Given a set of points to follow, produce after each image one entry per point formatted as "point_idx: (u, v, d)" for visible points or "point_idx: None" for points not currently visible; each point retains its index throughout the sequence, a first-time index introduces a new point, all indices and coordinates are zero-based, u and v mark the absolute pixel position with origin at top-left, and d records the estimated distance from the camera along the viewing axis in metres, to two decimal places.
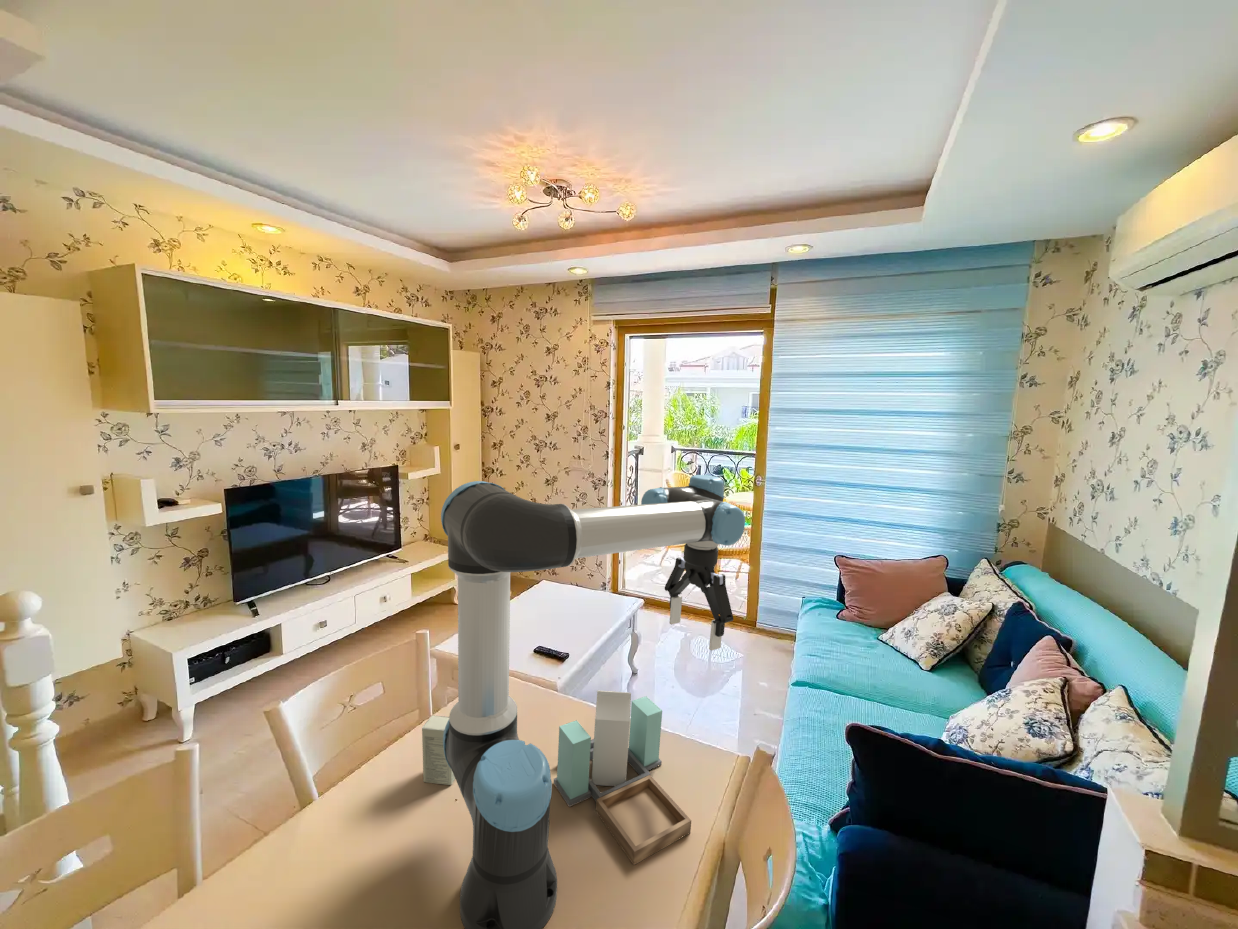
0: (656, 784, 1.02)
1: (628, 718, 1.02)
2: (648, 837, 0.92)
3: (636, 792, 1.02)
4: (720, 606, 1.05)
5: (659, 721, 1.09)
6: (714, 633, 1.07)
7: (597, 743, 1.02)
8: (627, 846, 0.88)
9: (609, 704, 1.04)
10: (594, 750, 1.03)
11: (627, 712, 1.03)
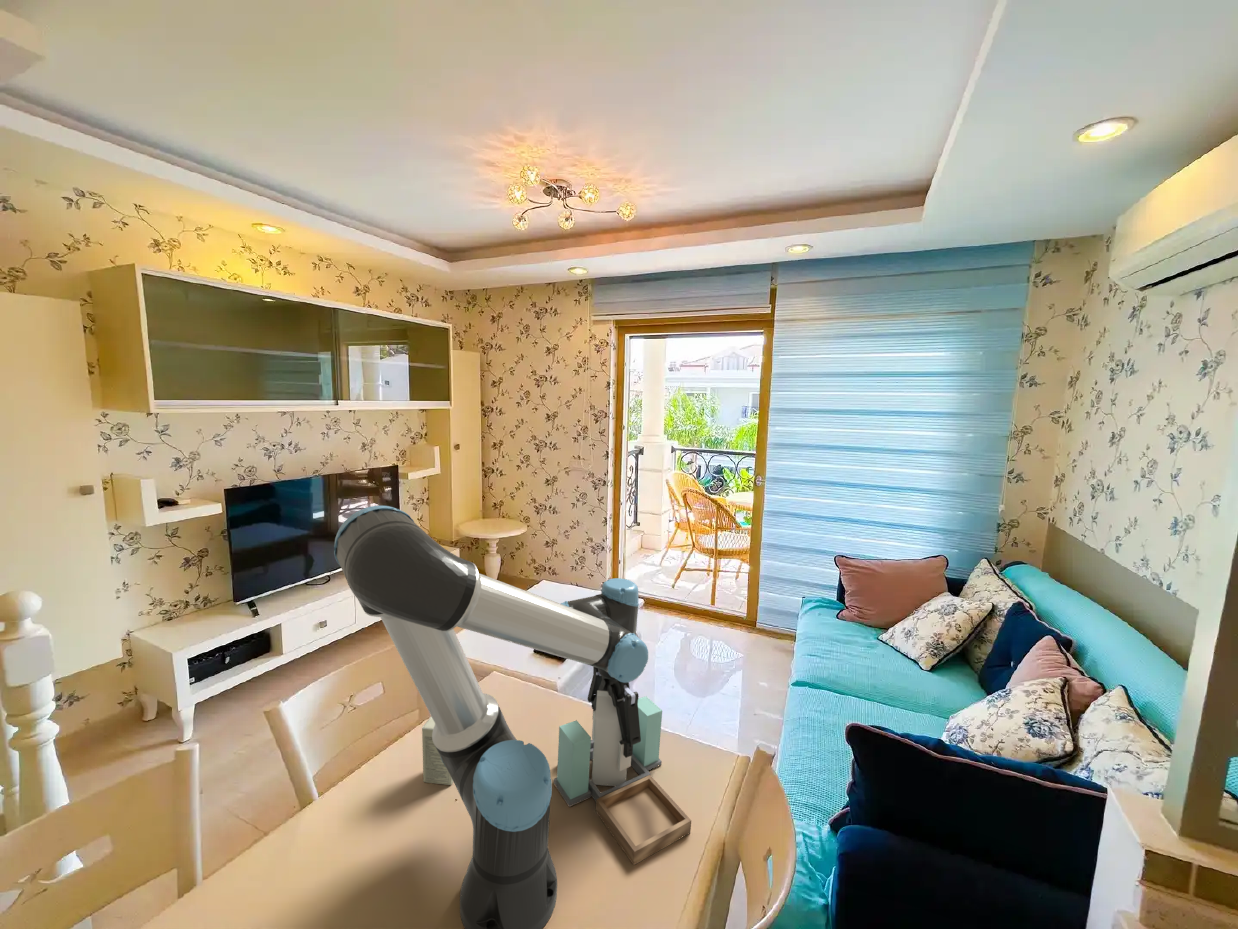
0: (656, 784, 1.02)
1: None
2: (648, 837, 0.92)
3: (636, 792, 1.02)
4: (628, 728, 0.98)
5: (659, 721, 1.09)
6: (622, 753, 1.01)
7: (597, 743, 1.02)
8: (627, 846, 0.88)
9: (609, 704, 1.04)
10: (594, 750, 1.03)
11: None
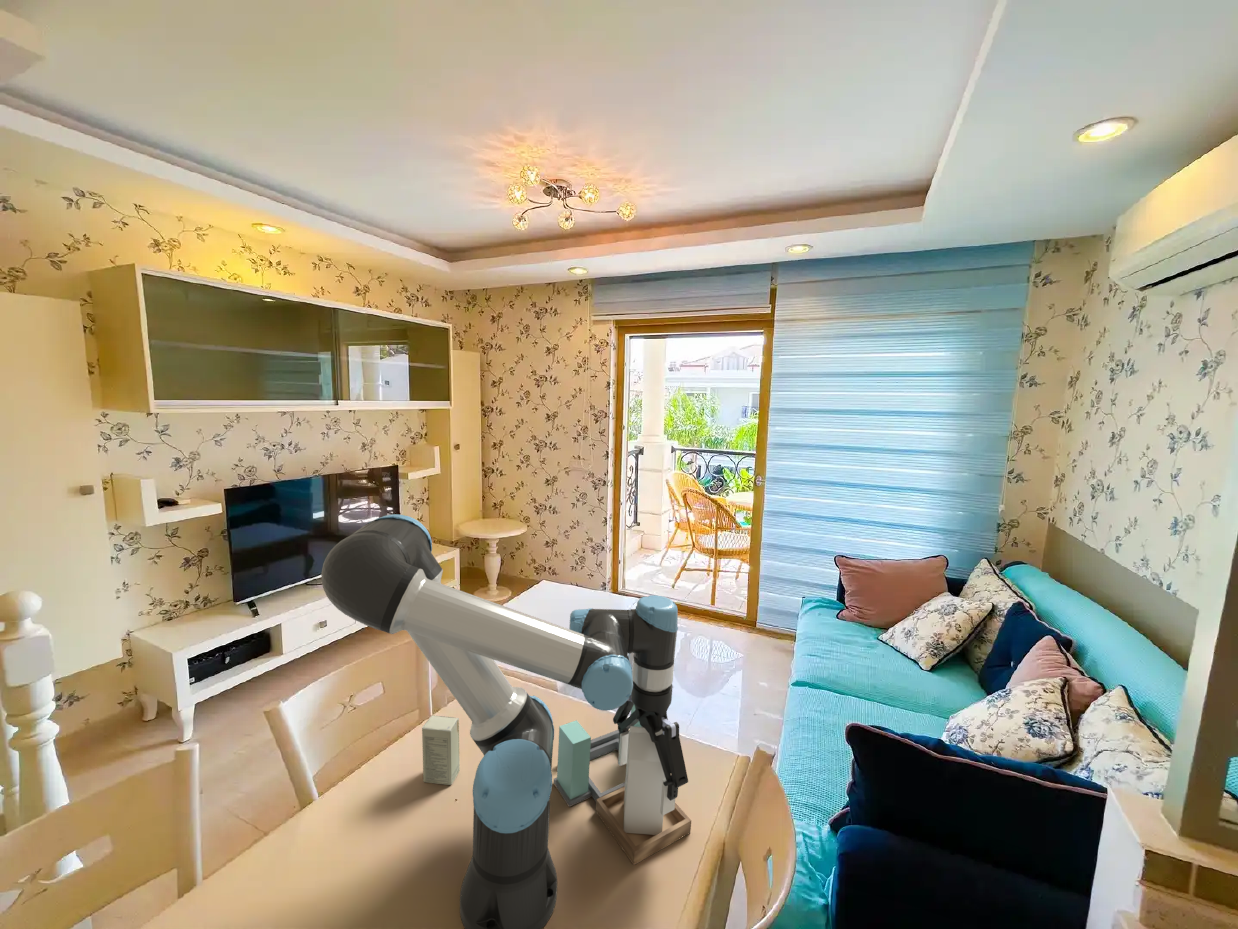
0: None
1: None
2: (648, 837, 0.92)
3: None
4: (672, 766, 0.86)
5: None
6: (666, 795, 0.88)
7: (631, 787, 0.91)
8: (627, 846, 0.88)
9: (644, 742, 0.92)
10: (627, 794, 0.91)
11: None
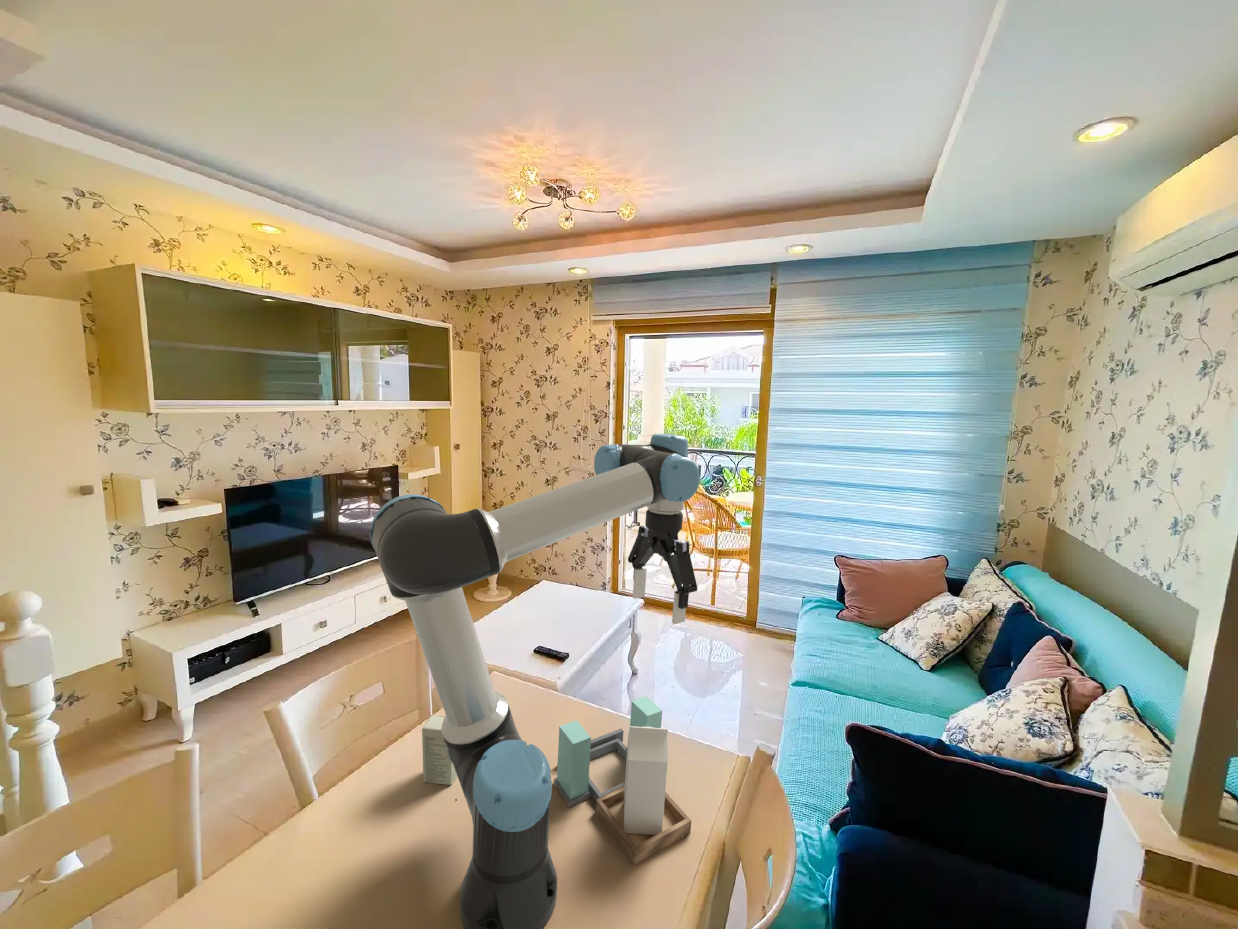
0: None
1: (665, 758, 0.90)
2: (648, 837, 0.92)
3: None
4: (683, 575, 0.96)
5: (659, 721, 1.09)
6: (677, 605, 0.98)
7: (630, 787, 0.91)
8: (627, 846, 0.88)
9: (643, 742, 0.92)
10: (627, 794, 0.91)
11: (664, 751, 0.91)
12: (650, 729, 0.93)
